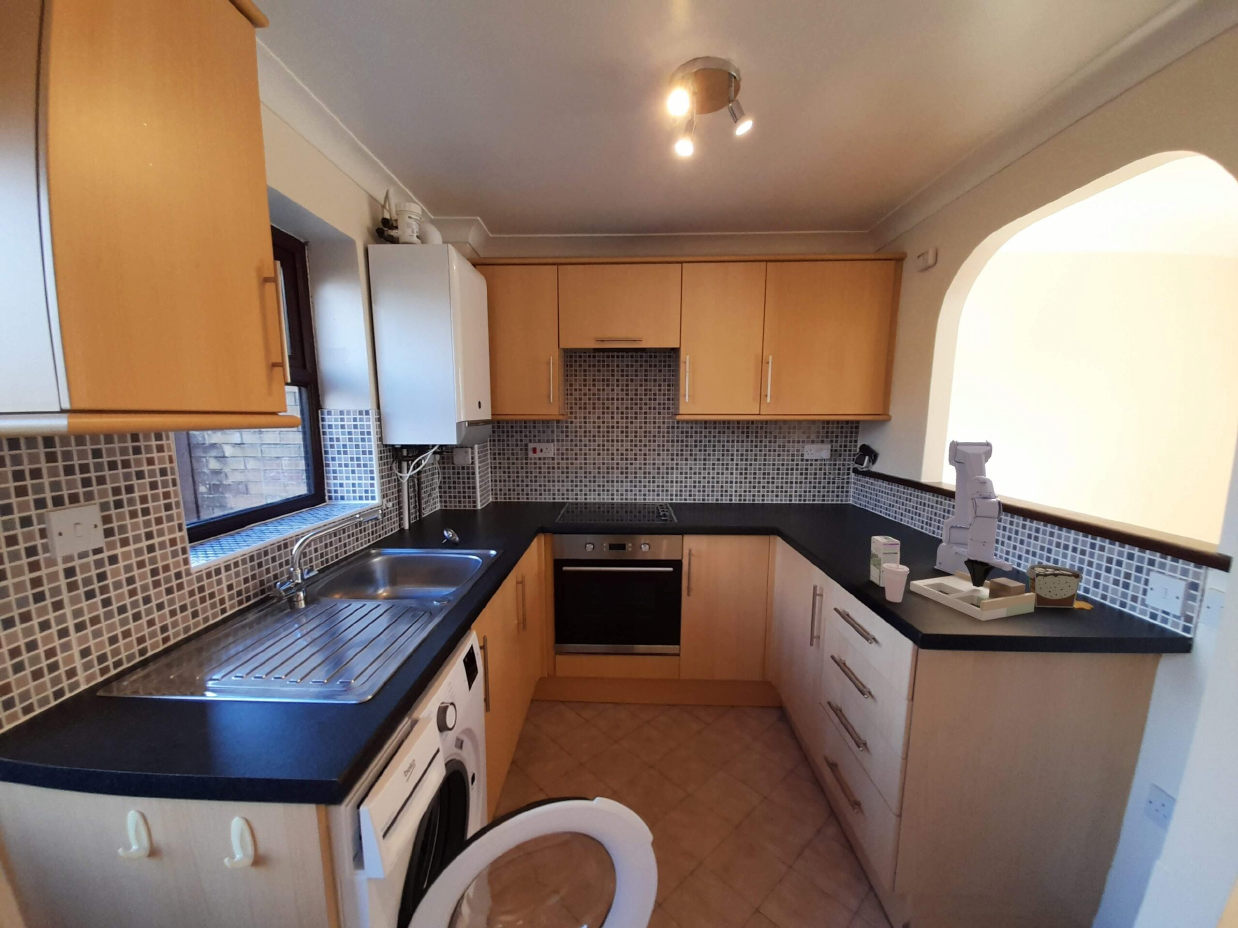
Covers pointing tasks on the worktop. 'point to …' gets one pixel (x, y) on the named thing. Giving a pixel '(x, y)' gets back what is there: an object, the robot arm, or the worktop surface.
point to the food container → (1053, 585)
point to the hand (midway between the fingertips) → (977, 586)
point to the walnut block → (1005, 588)
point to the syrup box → (882, 556)
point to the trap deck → (973, 597)
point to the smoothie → (895, 580)
